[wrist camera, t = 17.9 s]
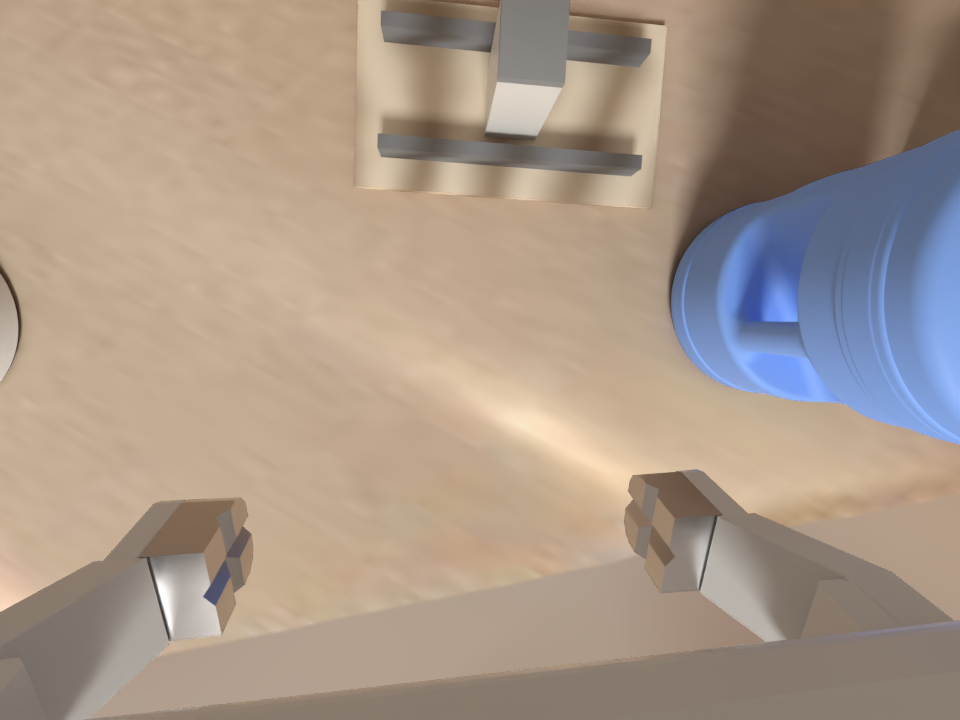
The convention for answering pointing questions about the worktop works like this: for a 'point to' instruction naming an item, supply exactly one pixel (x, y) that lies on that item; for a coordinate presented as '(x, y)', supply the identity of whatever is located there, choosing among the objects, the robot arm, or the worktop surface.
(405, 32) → the rail board
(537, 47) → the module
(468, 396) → the worktop surface
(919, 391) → the water jug
